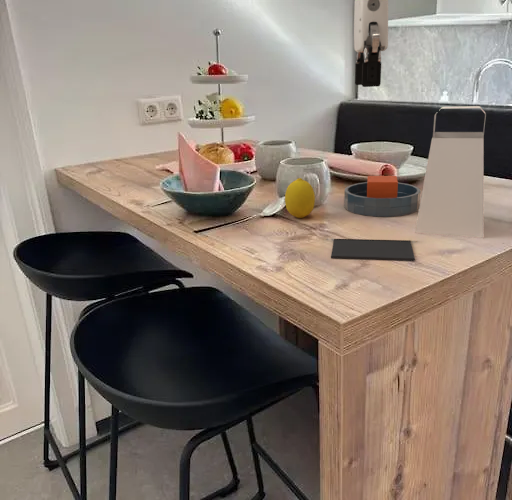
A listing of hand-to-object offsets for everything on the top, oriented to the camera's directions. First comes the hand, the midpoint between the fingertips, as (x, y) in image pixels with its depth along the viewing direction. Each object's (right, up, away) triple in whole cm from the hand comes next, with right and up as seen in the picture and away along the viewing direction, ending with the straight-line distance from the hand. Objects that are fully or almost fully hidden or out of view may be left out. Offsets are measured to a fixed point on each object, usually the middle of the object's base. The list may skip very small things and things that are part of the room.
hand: (367, 85), depth 94 cm
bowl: (+4, -23, +5) cm, 24 cm away
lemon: (-12, -25, 0) cm, 28 cm away
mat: (-3, -31, -16) cm, 35 cm away
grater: (+12, -28, -9) cm, 31 cm away
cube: (+4, -22, +4) cm, 23 cm away
